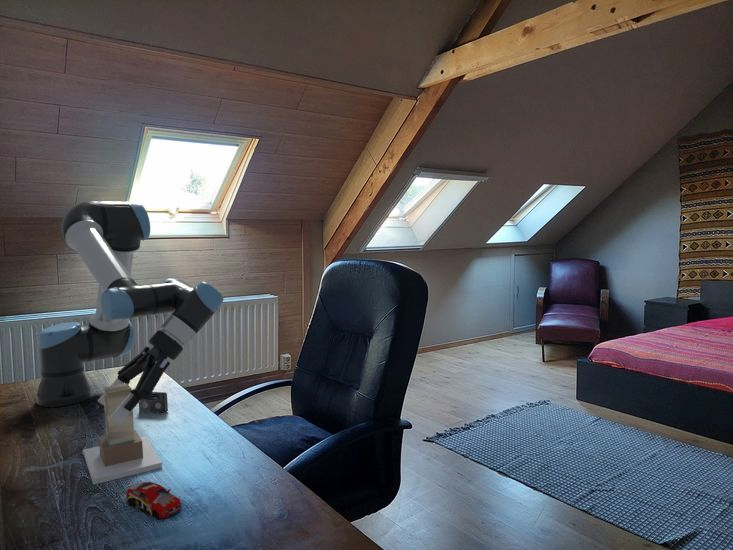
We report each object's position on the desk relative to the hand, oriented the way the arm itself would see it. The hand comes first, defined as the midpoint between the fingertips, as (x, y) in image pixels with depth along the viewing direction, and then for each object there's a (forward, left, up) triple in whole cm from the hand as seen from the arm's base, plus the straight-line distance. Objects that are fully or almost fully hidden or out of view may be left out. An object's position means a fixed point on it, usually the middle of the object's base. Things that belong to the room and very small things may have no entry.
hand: (108, 412), depth 124 cm
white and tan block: (-2, +2, -12) cm, 12 cm away
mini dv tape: (-33, -8, -12) cm, 36 cm away
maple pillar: (-2, +2, -7) cm, 7 cm away
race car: (+16, +20, -13) cm, 28 cm away
